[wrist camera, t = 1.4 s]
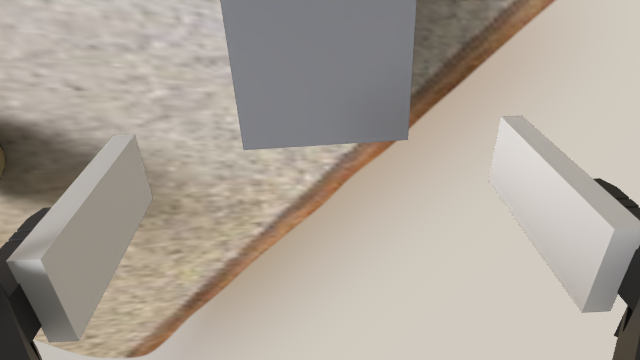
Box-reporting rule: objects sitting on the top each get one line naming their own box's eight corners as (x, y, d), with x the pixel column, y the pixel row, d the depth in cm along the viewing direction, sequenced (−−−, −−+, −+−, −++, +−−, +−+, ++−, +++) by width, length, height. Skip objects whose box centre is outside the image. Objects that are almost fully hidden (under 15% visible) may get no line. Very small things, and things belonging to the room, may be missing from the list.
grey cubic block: (236, -46, 29) (215, -33, 22) (388, -55, 29) (419, -44, 22) (255, 98, 35) (243, 150, 27) (384, 91, 35) (407, 139, 27)
